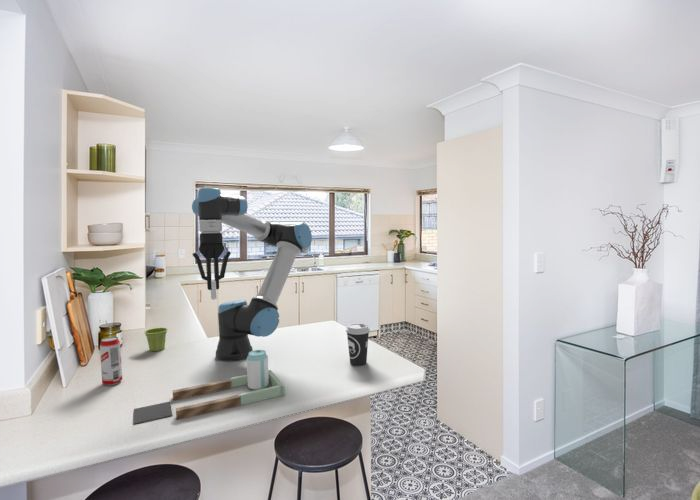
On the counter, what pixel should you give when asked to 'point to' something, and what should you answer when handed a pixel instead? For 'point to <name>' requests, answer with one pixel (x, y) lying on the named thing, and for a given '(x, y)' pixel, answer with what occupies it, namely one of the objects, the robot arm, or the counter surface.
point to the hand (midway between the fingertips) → (213, 298)
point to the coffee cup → (358, 343)
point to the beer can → (111, 361)
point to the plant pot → (156, 338)
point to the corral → (259, 394)
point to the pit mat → (152, 412)
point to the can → (257, 370)
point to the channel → (204, 406)
